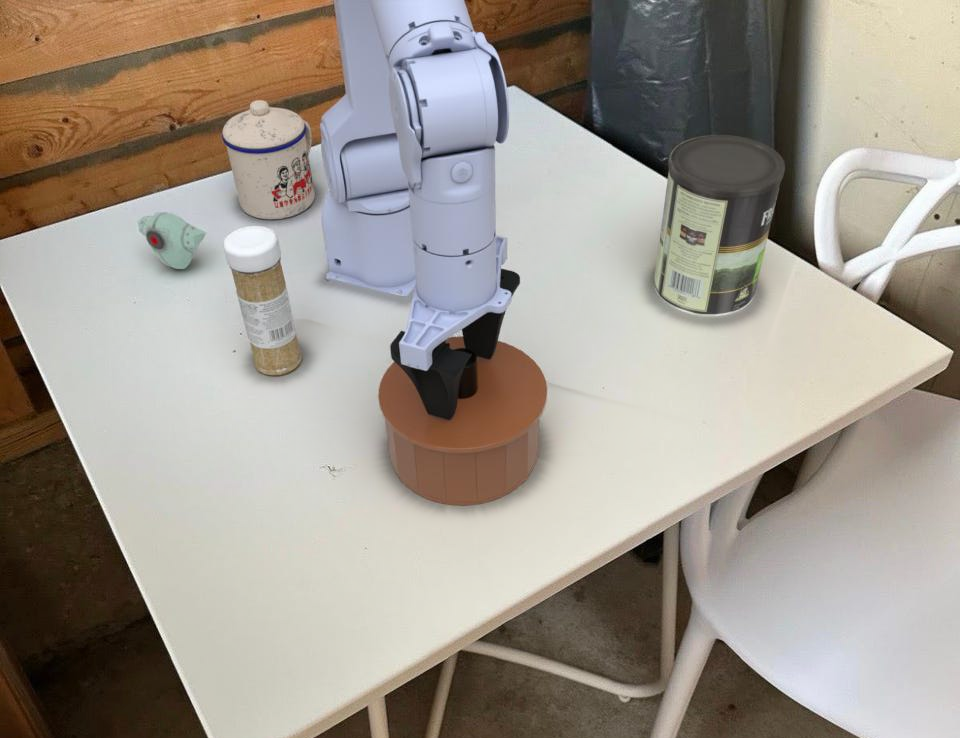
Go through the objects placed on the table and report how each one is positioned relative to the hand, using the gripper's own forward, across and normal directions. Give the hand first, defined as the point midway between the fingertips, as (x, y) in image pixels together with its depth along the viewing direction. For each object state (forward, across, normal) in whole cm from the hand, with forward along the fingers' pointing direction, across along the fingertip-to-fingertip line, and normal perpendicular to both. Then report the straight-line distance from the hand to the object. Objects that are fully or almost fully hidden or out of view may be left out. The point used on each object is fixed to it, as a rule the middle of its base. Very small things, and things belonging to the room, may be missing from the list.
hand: (461, 383), depth 73 cm
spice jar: (+8, +4, +21) cm, 23 cm away
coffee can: (+8, +30, -13) cm, 34 cm away
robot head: (+8, +13, +39) cm, 42 cm away
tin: (+8, 0, 0) cm, 8 cm away
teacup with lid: (+8, +30, +36) cm, 48 cm away
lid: (+1, 0, 0) cm, 1 cm away
